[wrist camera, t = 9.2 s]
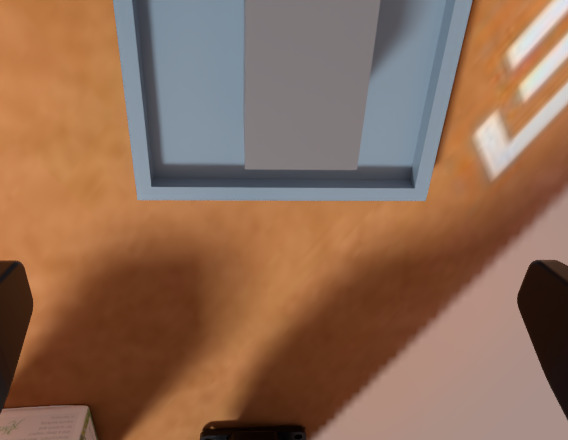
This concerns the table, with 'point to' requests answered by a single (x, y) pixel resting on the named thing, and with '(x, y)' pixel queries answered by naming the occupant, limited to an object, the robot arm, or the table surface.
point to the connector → (306, 82)
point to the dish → (229, 103)
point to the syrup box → (47, 423)
